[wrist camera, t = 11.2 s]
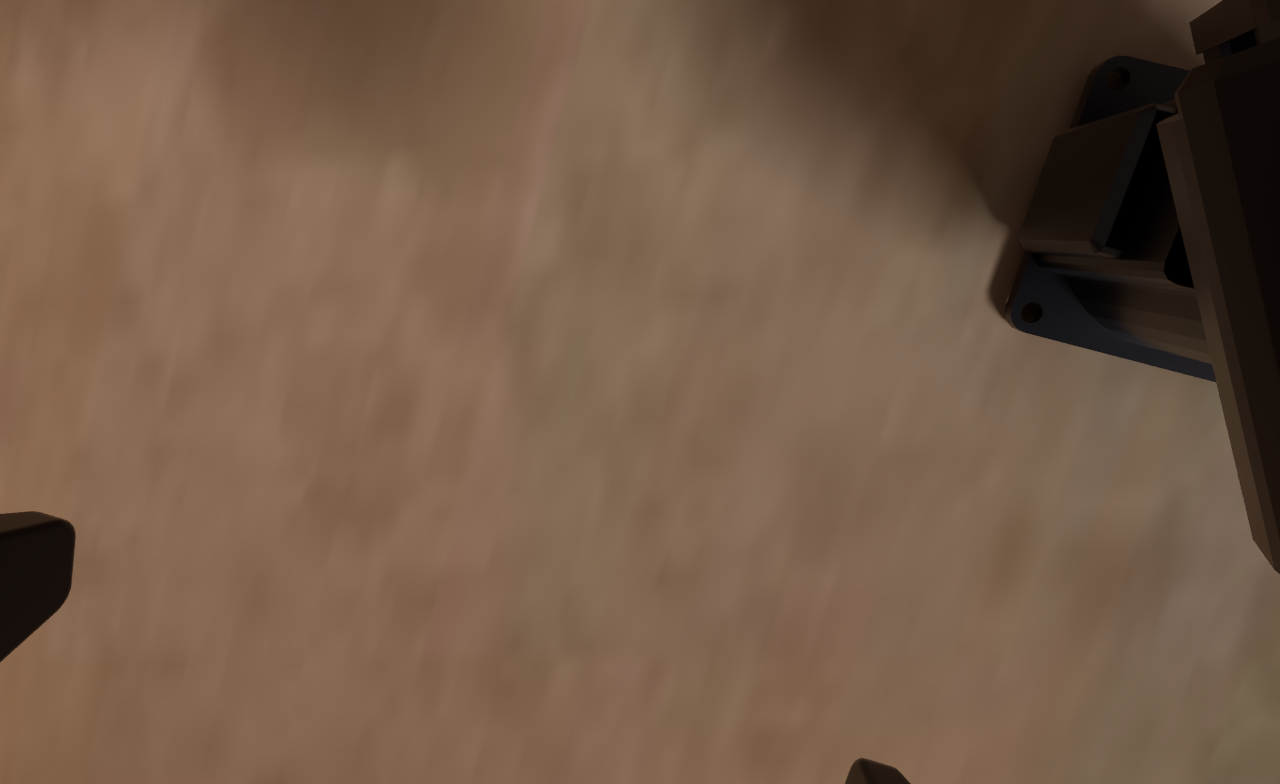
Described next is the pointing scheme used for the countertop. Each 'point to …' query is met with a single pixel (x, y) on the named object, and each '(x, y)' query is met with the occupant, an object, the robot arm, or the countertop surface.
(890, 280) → the countertop surface
